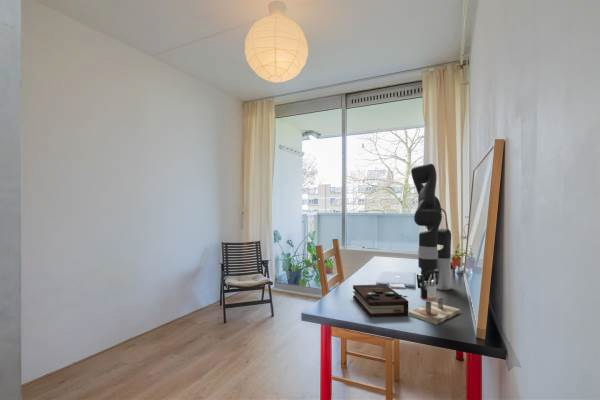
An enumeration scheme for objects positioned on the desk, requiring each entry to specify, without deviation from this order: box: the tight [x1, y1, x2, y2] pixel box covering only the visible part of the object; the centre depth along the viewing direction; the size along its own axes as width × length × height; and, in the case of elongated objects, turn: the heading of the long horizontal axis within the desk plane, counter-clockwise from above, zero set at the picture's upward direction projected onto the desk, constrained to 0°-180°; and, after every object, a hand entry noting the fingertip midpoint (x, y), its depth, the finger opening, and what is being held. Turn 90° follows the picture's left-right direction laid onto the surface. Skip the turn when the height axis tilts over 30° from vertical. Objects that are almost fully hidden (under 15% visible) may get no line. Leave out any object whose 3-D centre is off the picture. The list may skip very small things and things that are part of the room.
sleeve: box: [419, 283, 437, 302], centre depth 121 cm, size 6×6×6 cm
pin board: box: [408, 296, 461, 325], centre depth 124 cm, size 20×12×6 cm, turn 127°
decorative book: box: [352, 283, 409, 318], centre depth 133 cm, size 19×8×30 cm
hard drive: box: [388, 283, 407, 290], centre depth 166 cm, size 2×8×12 cm
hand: (428, 296), depth 121 cm, fingers closed on sleeve, 5 cm apart
